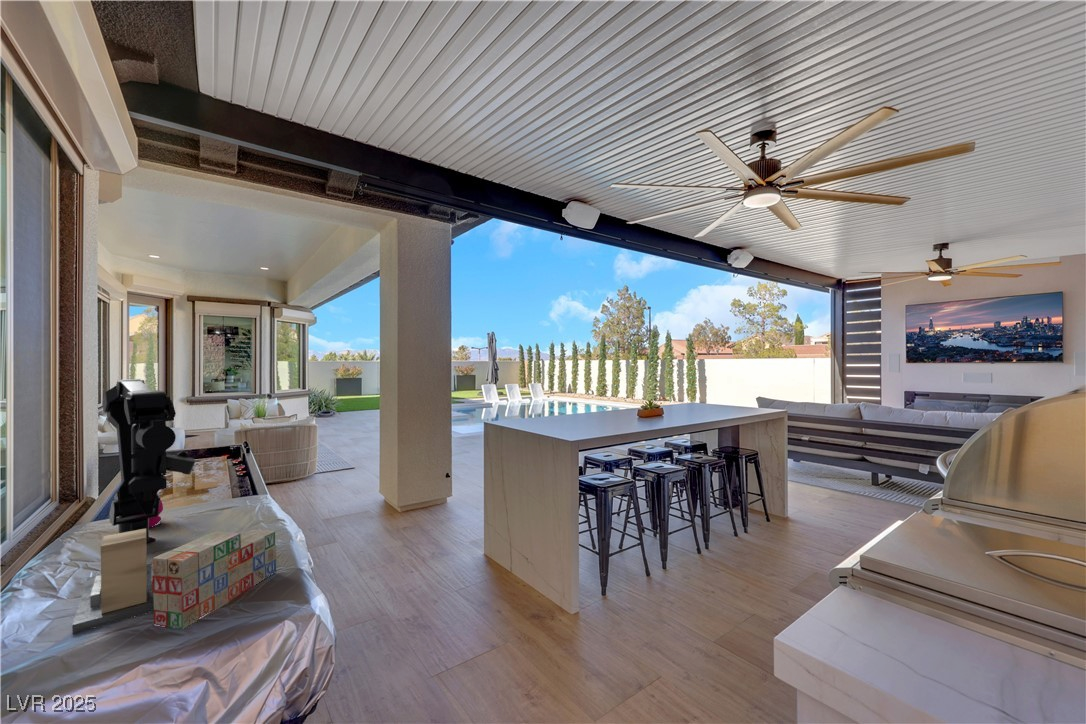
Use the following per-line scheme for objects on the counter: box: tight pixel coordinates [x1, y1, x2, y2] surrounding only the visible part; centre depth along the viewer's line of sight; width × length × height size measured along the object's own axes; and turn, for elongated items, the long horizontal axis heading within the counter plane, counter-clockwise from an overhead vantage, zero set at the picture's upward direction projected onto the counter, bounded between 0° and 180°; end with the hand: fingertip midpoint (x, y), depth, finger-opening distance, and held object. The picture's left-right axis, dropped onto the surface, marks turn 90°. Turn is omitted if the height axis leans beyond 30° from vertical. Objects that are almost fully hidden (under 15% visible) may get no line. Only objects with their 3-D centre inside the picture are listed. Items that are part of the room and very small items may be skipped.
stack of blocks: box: [152, 529, 277, 630], centre depth 90 cm, size 21×6×12 cm, turn 169°
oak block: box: [100, 528, 148, 614], centre depth 85 cm, size 6×6×12 cm
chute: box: [71, 562, 154, 635], centre depth 90 cm, size 22×13×4 cm, turn 40°
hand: (148, 514), depth 105 cm, fingers closed
